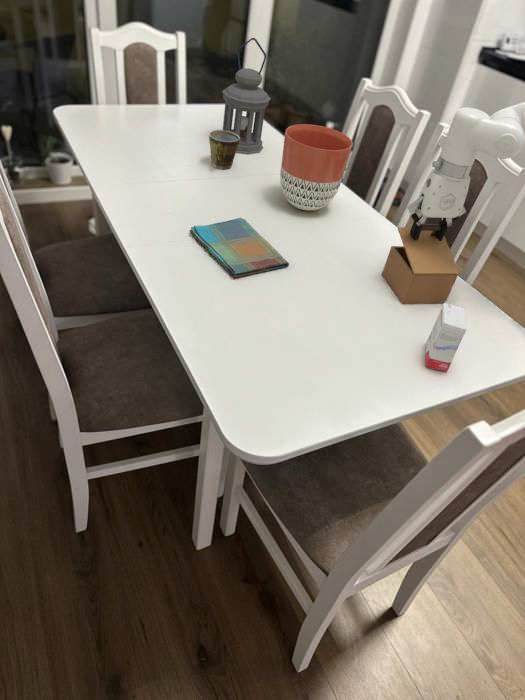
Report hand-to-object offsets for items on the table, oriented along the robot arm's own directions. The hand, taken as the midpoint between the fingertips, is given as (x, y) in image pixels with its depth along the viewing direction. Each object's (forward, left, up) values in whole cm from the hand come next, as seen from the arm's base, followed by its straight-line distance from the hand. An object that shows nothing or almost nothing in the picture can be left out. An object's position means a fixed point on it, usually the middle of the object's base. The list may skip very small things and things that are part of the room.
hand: (425, 237), depth 133 cm
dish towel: (+40, +22, -14) cm, 48 cm away
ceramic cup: (+76, -16, -14) cm, 79 cm away
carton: (-2, +2, -13) cm, 14 cm away
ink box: (-17, +25, -14) cm, 33 cm away
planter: (+42, -15, -14) cm, 47 cm away
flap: (-2, +2, -2) cm, 4 cm away
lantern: (+84, -38, -14) cm, 93 cm away
